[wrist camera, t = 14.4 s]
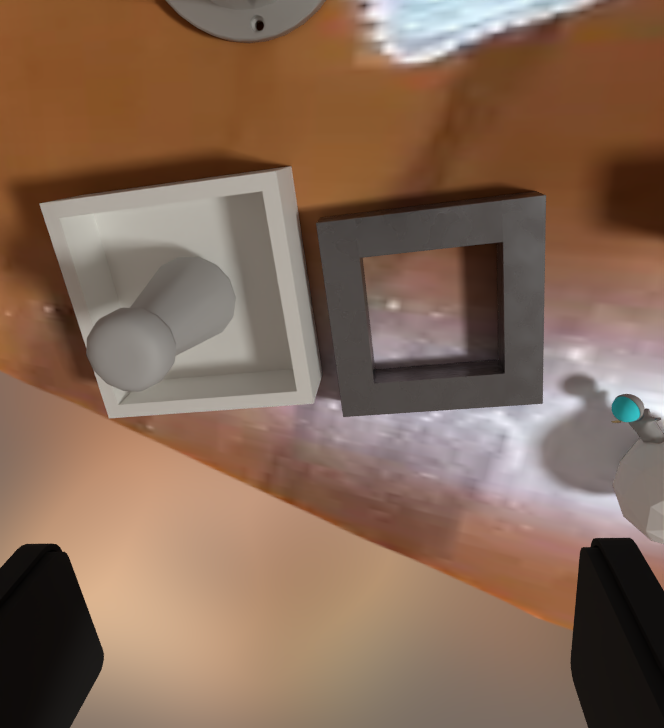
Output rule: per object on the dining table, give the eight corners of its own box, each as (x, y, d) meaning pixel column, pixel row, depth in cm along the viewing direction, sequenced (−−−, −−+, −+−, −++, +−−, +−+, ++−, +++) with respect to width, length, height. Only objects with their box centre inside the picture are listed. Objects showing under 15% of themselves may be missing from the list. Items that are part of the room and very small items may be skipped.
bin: (82, 195, 38) (39, 203, 33) (291, 166, 36) (276, 171, 31) (139, 388, 44) (109, 418, 39) (322, 373, 41) (313, 403, 37)
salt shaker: (192, 340, 40) (107, 427, 28) (149, 272, 39) (39, 333, 27) (258, 307, 39) (199, 385, 27) (217, 234, 37) (133, 283, 25)
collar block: (320, 217, 37) (316, 223, 34) (535, 191, 35) (545, 195, 32) (346, 401, 42) (343, 416, 40) (534, 388, 40) (542, 403, 38)
